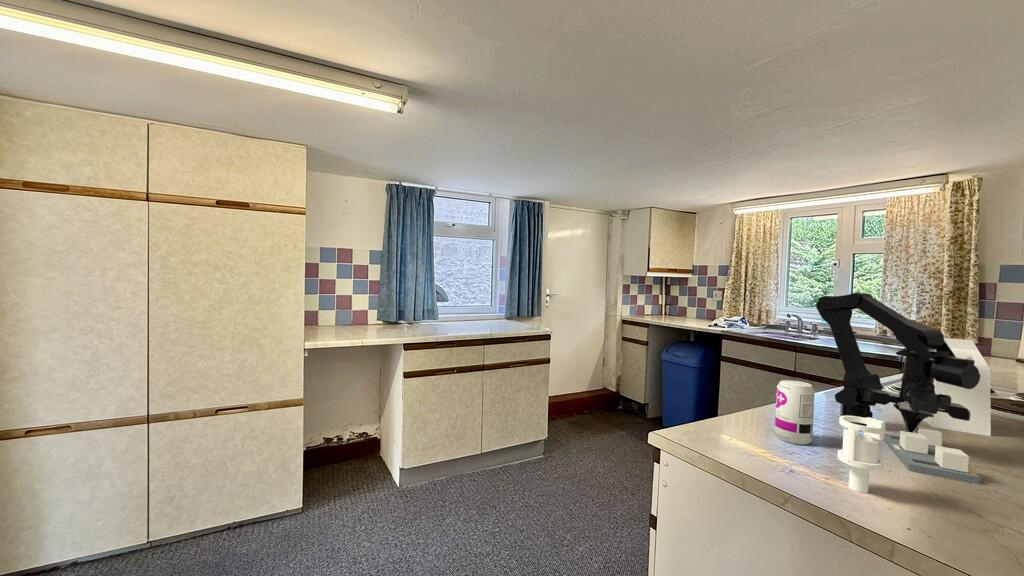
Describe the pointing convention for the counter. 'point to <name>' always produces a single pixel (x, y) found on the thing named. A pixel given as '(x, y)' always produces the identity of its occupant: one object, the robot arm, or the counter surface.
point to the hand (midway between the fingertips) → (909, 435)
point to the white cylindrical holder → (861, 449)
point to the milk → (966, 394)
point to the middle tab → (913, 442)
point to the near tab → (951, 458)
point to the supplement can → (794, 412)
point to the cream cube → (930, 435)
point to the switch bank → (926, 461)
